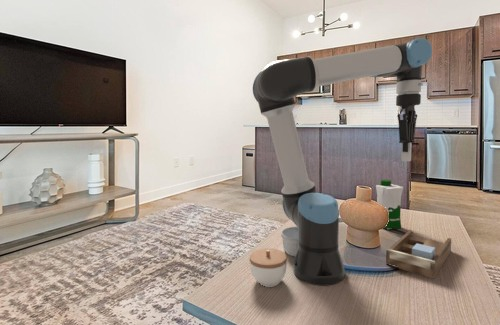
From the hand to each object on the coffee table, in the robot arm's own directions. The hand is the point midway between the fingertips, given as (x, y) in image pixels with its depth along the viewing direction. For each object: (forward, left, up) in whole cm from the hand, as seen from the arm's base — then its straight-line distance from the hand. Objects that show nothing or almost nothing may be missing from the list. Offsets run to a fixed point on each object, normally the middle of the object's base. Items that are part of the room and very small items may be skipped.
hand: (406, 160), depth 102 cm
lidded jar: (-20, -53, -31) cm, 65 cm away
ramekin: (-25, -30, -31) cm, 50 cm away
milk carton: (-10, +15, -31) cm, 36 cm away
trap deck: (+8, -9, -31) cm, 33 cm away
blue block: (+10, -16, -28) cm, 34 cm away
